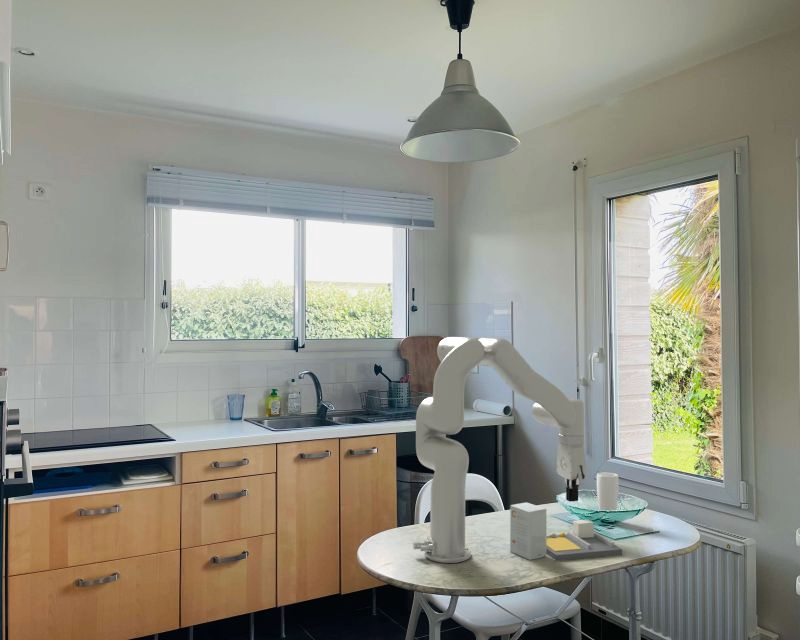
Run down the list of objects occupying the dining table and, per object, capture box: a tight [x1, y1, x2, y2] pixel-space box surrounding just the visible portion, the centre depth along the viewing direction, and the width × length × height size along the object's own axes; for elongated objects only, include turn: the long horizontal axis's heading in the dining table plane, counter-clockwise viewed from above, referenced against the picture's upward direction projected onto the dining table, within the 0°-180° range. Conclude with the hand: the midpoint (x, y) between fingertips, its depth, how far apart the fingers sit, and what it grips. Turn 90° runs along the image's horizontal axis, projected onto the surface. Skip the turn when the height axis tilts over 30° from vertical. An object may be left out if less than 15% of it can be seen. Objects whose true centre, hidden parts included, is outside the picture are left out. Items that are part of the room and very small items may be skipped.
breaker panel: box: [546, 531, 623, 561], centre depth 187 cm, size 20×15×2 cm
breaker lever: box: [572, 519, 595, 538], centre depth 193 cm, size 5×3×4 cm, turn 104°
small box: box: [509, 501, 548, 561], centre depth 182 cm, size 8×6×13 cm
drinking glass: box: [596, 471, 620, 511], centre depth 213 cm, size 7×7×15 cm
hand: (572, 500), depth 200 cm, fingers closed
